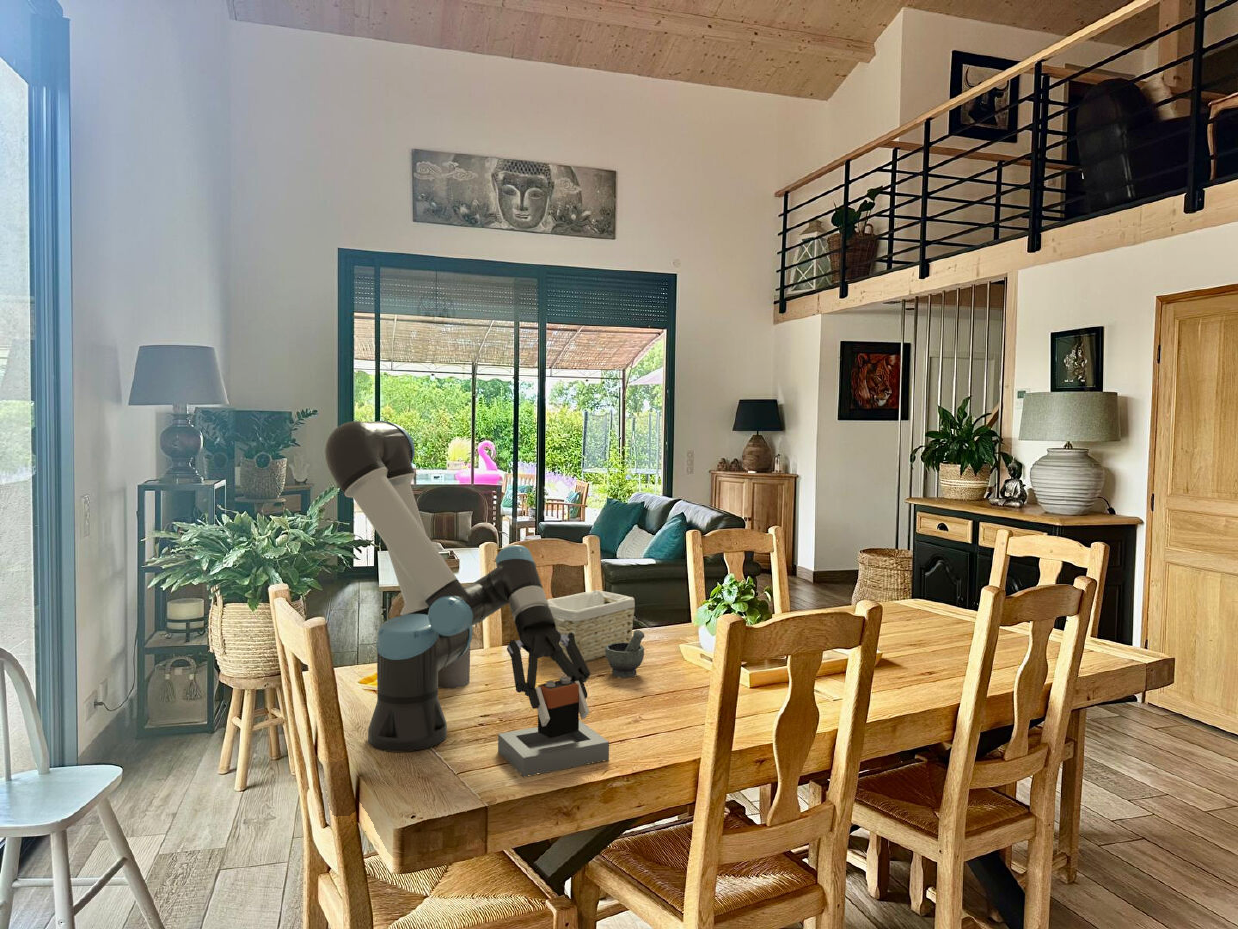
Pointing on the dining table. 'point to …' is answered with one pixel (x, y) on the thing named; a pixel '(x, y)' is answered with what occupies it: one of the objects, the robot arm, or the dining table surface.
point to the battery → (560, 707)
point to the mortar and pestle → (625, 656)
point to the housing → (551, 749)
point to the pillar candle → (455, 672)
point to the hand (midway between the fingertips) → (565, 719)
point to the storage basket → (593, 620)
